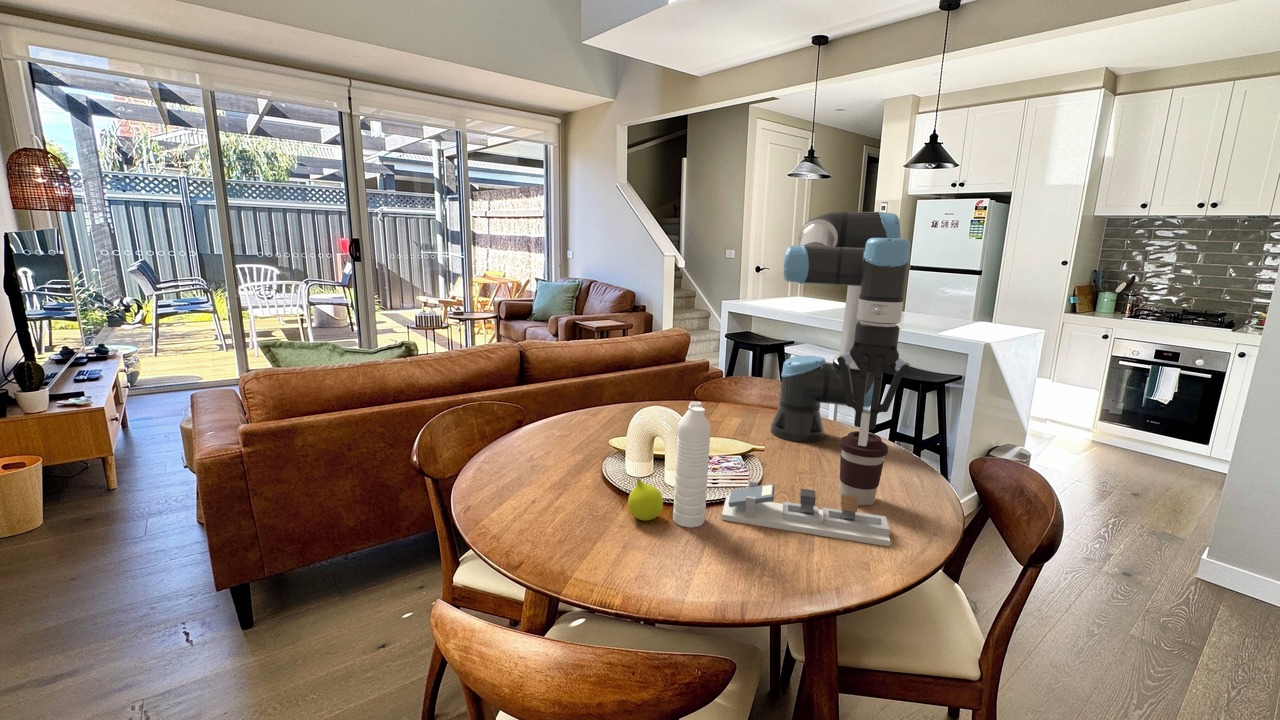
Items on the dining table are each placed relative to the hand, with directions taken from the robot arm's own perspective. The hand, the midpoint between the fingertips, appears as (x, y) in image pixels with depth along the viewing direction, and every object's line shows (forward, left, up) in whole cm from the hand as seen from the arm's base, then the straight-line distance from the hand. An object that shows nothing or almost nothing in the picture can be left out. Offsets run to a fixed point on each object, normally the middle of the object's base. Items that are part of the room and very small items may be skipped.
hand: (862, 443), depth 109 cm
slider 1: (0, -9, -17) cm, 19 cm away
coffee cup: (-15, +2, -19) cm, 24 cm away
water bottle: (+8, -32, -19) cm, 37 cm away
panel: (0, -10, -18) cm, 21 cm away
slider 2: (0, -1, -17) cm, 17 cm away
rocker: (0, -20, -14) cm, 25 cm away
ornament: (+9, -41, -19) cm, 46 cm away
